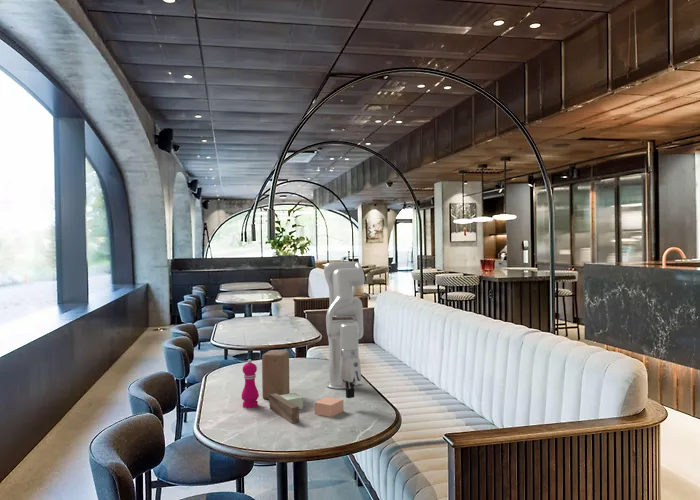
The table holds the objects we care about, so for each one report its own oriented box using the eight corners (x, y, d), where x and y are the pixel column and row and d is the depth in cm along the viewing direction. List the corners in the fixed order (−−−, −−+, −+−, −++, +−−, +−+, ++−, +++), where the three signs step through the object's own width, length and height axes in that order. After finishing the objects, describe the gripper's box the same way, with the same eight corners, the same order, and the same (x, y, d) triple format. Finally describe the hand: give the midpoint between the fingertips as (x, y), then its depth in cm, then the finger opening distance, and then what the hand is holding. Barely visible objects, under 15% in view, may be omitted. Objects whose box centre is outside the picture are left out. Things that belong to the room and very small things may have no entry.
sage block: (295, 404, 235) (294, 392, 235) (303, 409, 228) (302, 397, 228) (275, 407, 230) (275, 396, 230) (283, 412, 223) (283, 400, 223)
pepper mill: (261, 404, 234) (261, 358, 234) (253, 409, 228) (252, 361, 227) (247, 402, 237) (246, 357, 236) (238, 407, 230) (237, 360, 230)
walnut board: (276, 407, 230) (276, 393, 230) (299, 422, 211) (298, 406, 211) (269, 408, 228) (269, 394, 228) (292, 423, 209) (291, 408, 209)
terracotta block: (327, 408, 228) (327, 396, 228) (343, 411, 224) (343, 399, 224) (314, 414, 221) (314, 402, 221) (330, 417, 216) (330, 405, 216)
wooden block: (283, 400, 240) (282, 355, 240) (261, 399, 242) (261, 354, 242) (290, 394, 250) (289, 350, 249) (269, 393, 252) (268, 349, 251)
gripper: (366, 355, 222) (367, 400, 222) (348, 349, 235) (348, 392, 235) (351, 357, 219) (351, 402, 218) (332, 351, 231) (333, 395, 231)
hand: (350, 397), depth 227 cm, fingers closed
